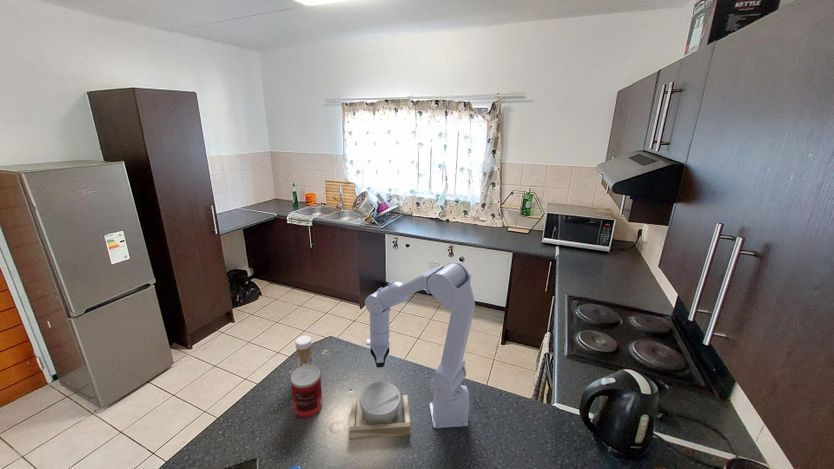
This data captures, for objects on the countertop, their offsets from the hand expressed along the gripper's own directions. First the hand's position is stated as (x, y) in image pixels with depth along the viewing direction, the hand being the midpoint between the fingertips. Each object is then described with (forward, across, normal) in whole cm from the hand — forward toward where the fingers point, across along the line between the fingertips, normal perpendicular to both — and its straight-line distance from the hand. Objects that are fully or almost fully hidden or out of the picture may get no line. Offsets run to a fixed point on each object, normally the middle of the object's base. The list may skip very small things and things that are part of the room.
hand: (380, 365), depth 99 cm
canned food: (+5, +9, -20) cm, 23 cm away
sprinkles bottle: (+5, -3, -23) cm, 24 cm away
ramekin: (+5, +12, 0) cm, 13 cm away
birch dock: (+5, +14, 0) cm, 15 cm away
